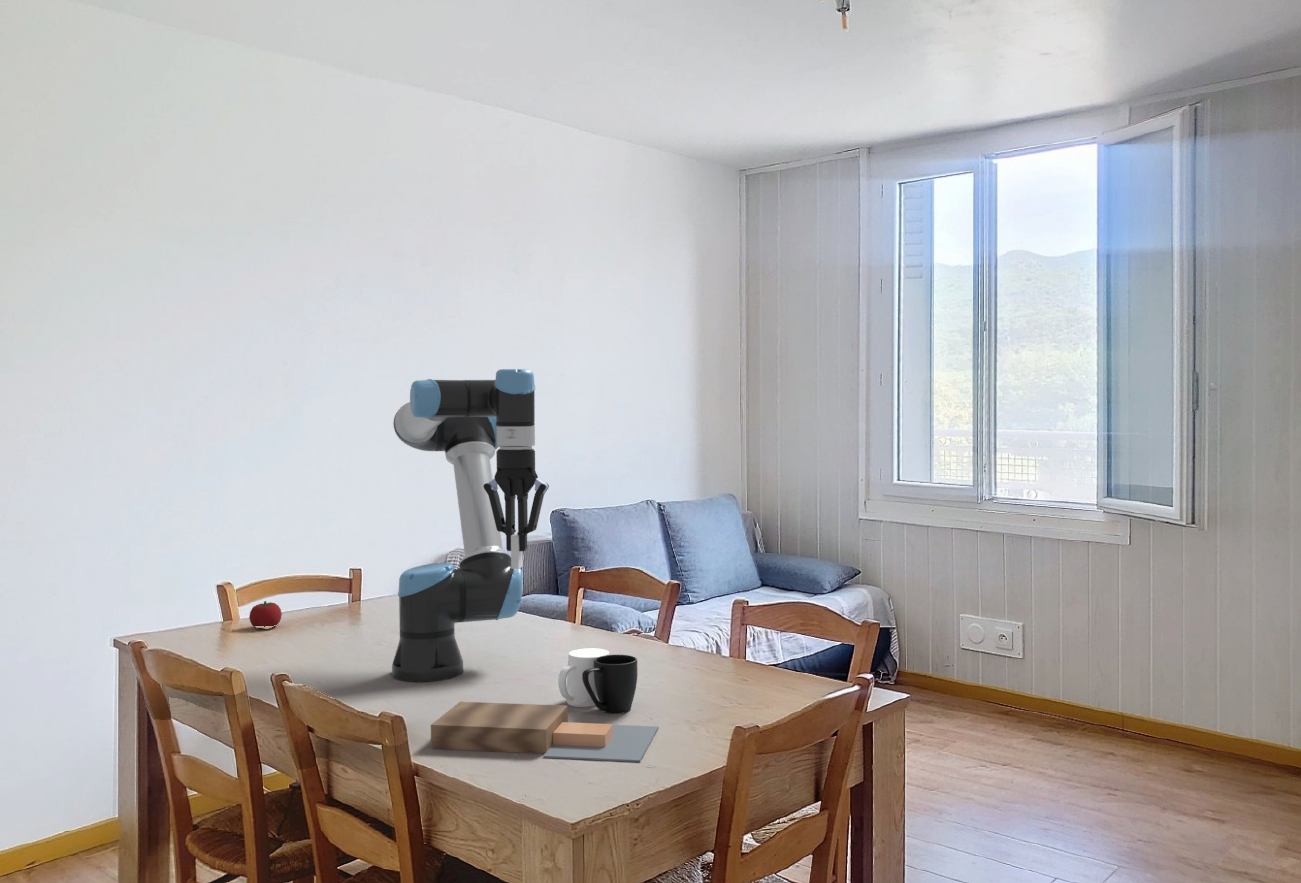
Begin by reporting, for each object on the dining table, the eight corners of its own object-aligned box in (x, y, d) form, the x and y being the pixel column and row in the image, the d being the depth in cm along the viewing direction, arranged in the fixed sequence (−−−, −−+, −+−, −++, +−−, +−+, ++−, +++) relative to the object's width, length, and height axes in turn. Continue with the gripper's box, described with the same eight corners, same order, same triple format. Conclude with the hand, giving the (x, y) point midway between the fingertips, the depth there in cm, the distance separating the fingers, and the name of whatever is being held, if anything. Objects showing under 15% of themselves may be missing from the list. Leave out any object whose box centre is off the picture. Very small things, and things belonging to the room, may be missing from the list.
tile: (553, 744, 174) (552, 732, 174) (562, 733, 180) (562, 722, 180) (605, 746, 172) (605, 735, 172) (613, 735, 178) (612, 724, 178)
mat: (543, 757, 168) (543, 755, 168) (570, 724, 186) (570, 723, 186) (640, 762, 166) (640, 760, 166) (658, 728, 183) (658, 726, 183)
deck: (431, 748, 174) (430, 724, 174) (460, 723, 188) (460, 701, 187) (546, 753, 170) (546, 729, 170) (567, 728, 184) (567, 705, 184)
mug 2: (569, 713, 193) (569, 663, 193) (618, 700, 201) (617, 652, 201) (598, 723, 187) (597, 670, 187) (646, 709, 195) (646, 659, 195)
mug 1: (593, 645, 208) (620, 651, 202) (594, 691, 208) (621, 699, 202) (547, 656, 199) (574, 662, 194) (547, 704, 200) (574, 712, 194)
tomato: (275, 631, 271) (274, 603, 271) (245, 631, 272) (244, 604, 271) (286, 624, 279) (286, 598, 279) (257, 625, 280) (256, 598, 279)
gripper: (477, 448, 200) (478, 570, 201) (542, 449, 198) (543, 571, 199) (490, 446, 208) (491, 563, 209) (553, 447, 205) (554, 565, 206)
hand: (517, 567), depth 204 cm, fingers closed
